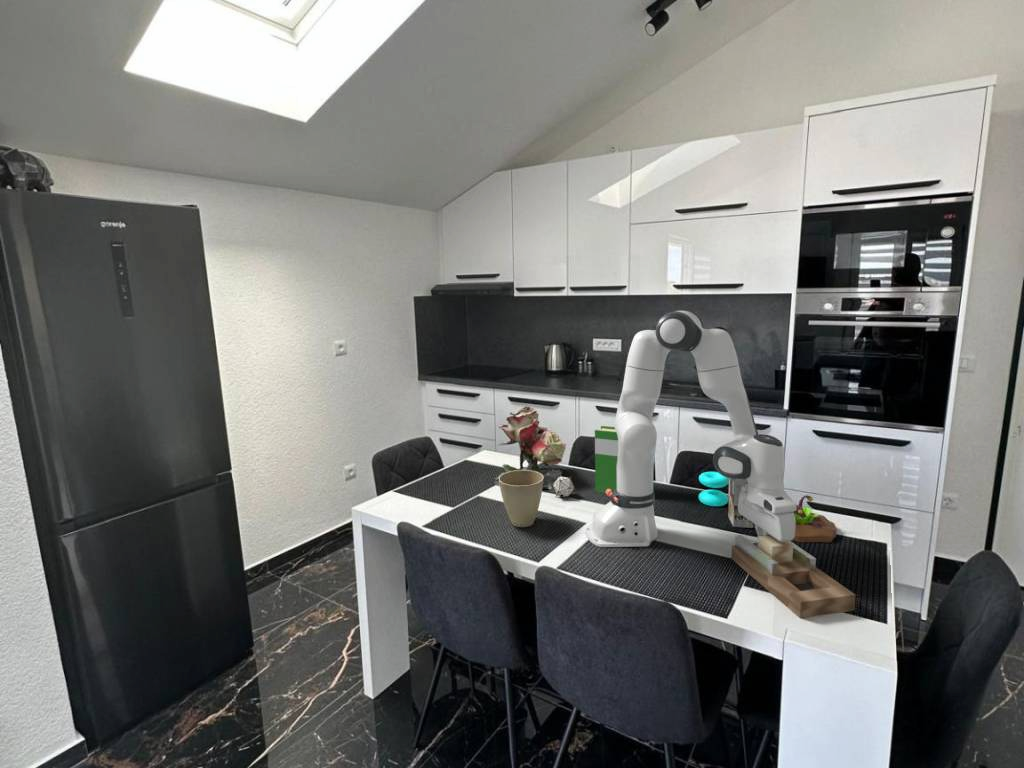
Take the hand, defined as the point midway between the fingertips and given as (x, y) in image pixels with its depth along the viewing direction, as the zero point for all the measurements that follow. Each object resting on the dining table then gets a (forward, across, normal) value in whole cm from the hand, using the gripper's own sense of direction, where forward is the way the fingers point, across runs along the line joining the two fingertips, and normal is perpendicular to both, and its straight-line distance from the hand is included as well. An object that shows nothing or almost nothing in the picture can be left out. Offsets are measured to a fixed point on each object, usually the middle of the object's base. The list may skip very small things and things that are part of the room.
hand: (763, 542), depth 148 cm
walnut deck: (+6, +11, 0) cm, 12 cm away
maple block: (+2, +5, 0) cm, 6 cm away
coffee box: (+6, -25, +9) cm, 27 cm away
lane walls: (+2, +5, 0) cm, 5 cm away
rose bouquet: (+6, -83, -48) cm, 96 cm away
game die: (+6, -60, -41) cm, 73 cm away
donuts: (+6, -42, +9) cm, 43 cm away
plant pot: (+6, -42, -60) cm, 73 cm away
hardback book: (+6, -60, -18) cm, 63 cm away
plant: (+6, -16, +24) cm, 29 cm away
